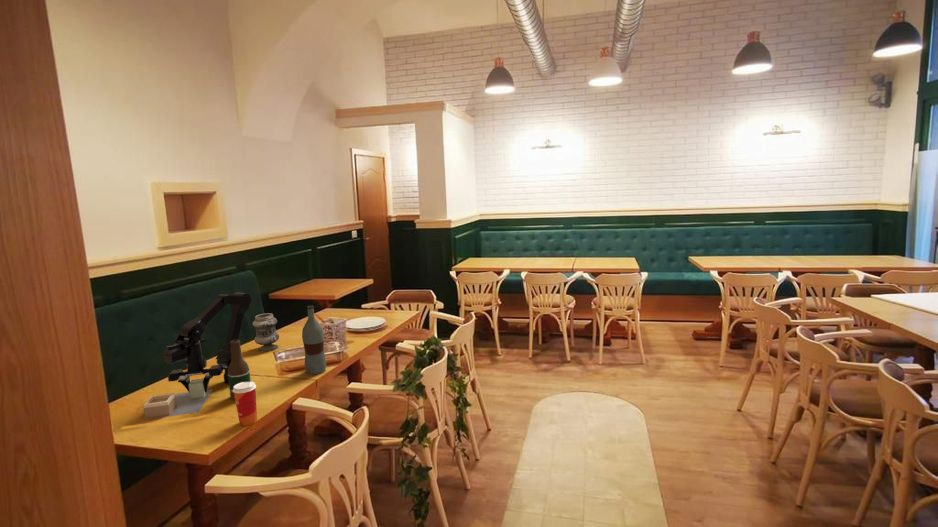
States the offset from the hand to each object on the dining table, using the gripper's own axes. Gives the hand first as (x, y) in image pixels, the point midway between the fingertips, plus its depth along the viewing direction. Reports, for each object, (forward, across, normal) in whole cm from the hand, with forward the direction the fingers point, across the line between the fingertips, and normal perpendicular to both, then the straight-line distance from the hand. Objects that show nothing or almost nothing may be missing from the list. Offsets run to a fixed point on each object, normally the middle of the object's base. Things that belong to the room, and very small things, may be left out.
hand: (198, 393), depth 201 cm
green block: (+1, 0, 0) cm, 1 cm away
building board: (+2, +5, +6) cm, 8 cm away
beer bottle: (+2, -17, +7) cm, 19 cm away
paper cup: (+2, -23, +30) cm, 38 cm away
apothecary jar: (+2, -19, -57) cm, 60 cm away
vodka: (+2, -45, -14) cm, 47 cm away
